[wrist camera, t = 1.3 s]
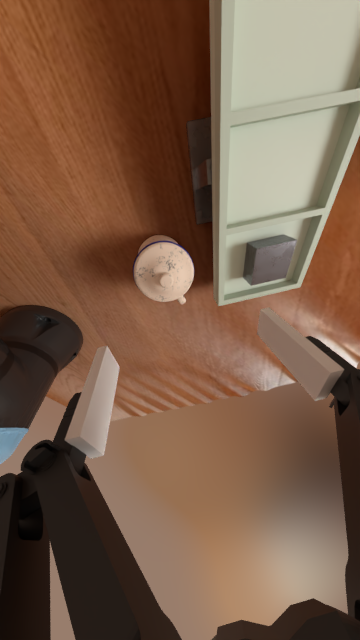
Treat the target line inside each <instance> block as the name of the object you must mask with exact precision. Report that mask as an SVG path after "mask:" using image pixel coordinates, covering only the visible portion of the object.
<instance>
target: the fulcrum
mask: <svg viewBox="0 0 360 640" xmlns="http://www.w3.org/2000/svg"><path fill="white" fill-rule="evenodd" d="M186 128H187V138H188V148H189V158H190V168H191V178H192V188H193V198H194V208H195V218H196V224H197V225H198V224H202V223H207V222H212V221H213V216H212V146H211V117H208V118H203V119H197V120H192V121H187V123H186Z"/></svg>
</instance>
